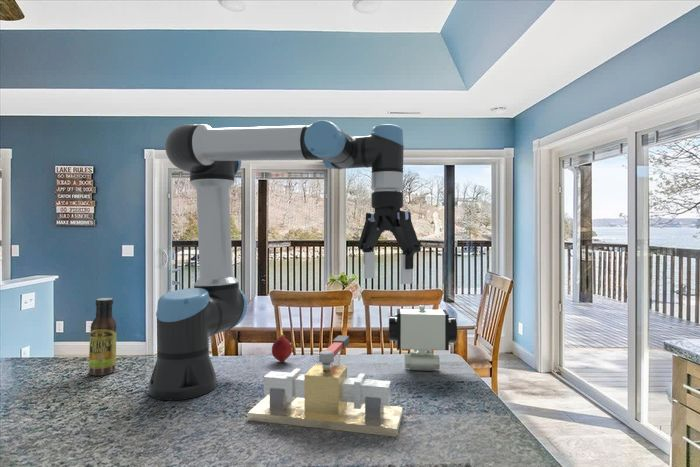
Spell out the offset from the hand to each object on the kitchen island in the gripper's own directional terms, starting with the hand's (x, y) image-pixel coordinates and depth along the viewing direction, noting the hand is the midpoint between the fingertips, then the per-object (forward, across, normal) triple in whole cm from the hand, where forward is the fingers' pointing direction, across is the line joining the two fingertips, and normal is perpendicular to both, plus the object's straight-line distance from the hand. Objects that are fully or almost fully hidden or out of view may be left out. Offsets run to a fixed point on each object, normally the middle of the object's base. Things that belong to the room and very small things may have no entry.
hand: (386, 281), depth 100 cm
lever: (+15, 0, +14) cm, 21 cm away
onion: (+26, +34, +11) cm, 45 cm away
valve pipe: (+26, -4, +19) cm, 33 cm away
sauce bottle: (+27, +53, +54) cm, 81 cm away
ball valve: (+26, +7, -18) cm, 33 cm away
